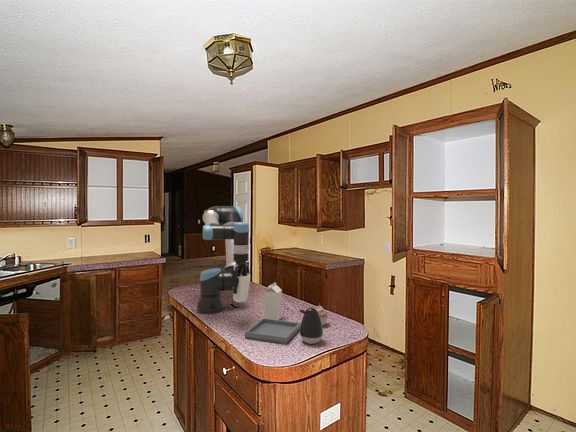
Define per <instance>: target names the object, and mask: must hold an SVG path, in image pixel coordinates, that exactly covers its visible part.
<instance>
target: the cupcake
mask: <svg viewBox="0 0 576 432" xmlns="http://www.w3.org/2000/svg"><path fill="white" fill-rule="evenodd" d="M314 308H315V309H316V310H317V311H318V313H319V316H320V318H321V322H322V327H325V326H326V323H327V319H328V318H329V315H328V314H327V311H326V310H325V309H324V307H322V306H321V305H317V306H316V307H314Z"/></svg>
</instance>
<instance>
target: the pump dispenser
mask: <svg viewBox="0 0 576 432" xmlns="http://www.w3.org/2000/svg"><path fill="white" fill-rule="evenodd" d="M315 308H316V307H313V306H311V307H308V308H307V309H306V310H303V309H300V310H299V312H300V313H302V314H303V316H302V317H301V318H302V319H301V322H300V330H299V335H300V337H301V340H302V341H303V342H305V343H306V344H308V345H315V344H317V343H319V342H320V341H322V338H323V335H324V329H323V327H324V326H322V322H321V318H320V316H319V313H318V311H317V310H316V309H315Z"/></svg>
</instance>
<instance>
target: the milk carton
mask: <svg viewBox="0 0 576 432" xmlns="http://www.w3.org/2000/svg"><path fill="white" fill-rule="evenodd" d="M282 300H283V290H282V288H280V287H279V286H278V285H277V282H274V283H271V284H270V285H268V286H267V289H266V291H265V292H264V318H265V319H273V320H281V319H282V316H283V313H282V311H283V309H282V308H283V304H282V303H283V301H282Z"/></svg>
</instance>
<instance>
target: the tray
mask: <svg viewBox="0 0 576 432" xmlns="http://www.w3.org/2000/svg"><path fill="white" fill-rule="evenodd" d="M300 326H301V322H295V321H288V320H287V321H286V320H281V319H279V320H273V319H265V317H264V318H261V319H260V320H258V321H257V322H256V323H255V324H254V325H252V326H251V327H249V329H248V328H247V330H246V331H244V339H247V340H252V341H253V340H254V341H259V342H265V343H273V344H278V345H284V346H285V345H286V346H288V344H289V343H290V342H291V340H293V338H294V337H295V336H296V335H297V334H298V332H300Z"/></svg>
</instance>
